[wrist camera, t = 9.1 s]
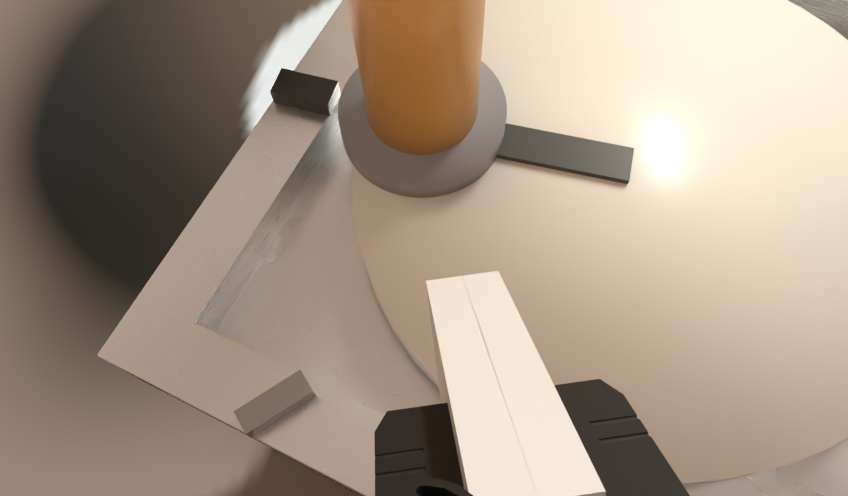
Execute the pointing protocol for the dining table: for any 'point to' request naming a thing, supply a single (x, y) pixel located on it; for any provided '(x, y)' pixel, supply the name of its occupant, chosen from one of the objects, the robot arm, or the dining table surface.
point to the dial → (622, 202)
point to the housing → (318, 298)
